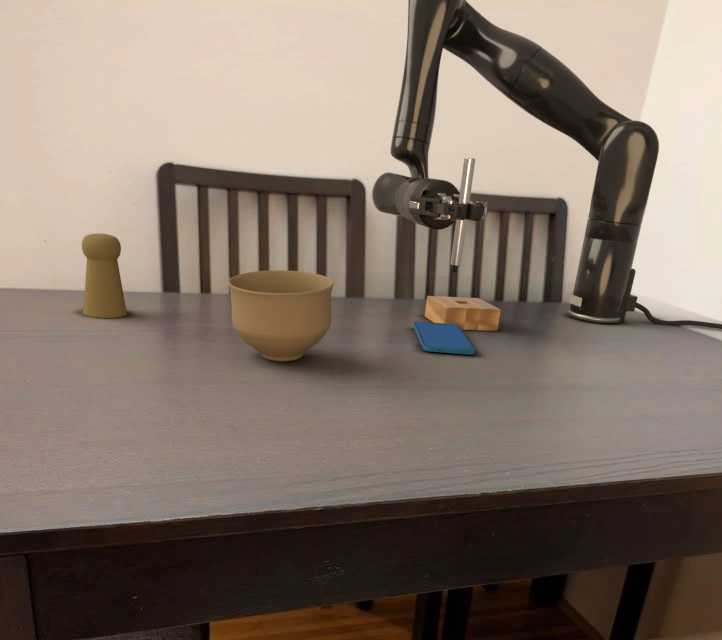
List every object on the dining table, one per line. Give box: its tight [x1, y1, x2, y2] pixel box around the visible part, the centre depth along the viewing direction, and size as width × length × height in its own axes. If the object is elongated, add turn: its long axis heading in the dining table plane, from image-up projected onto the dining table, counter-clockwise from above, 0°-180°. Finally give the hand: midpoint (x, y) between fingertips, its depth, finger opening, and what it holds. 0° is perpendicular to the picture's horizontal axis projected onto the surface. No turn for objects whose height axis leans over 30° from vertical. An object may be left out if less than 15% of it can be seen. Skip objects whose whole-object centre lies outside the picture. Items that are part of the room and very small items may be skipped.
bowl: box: [227, 269, 334, 363], centre depth 89 cm, size 13×13×10 cm
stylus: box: [450, 157, 476, 273], centre depth 108 cm, size 2×2×16 cm
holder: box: [424, 295, 502, 332], centre depth 121 cm, size 9×9×4 cm
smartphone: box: [412, 321, 476, 355], centre depth 108 cm, size 7×1×15 cm
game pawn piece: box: [81, 232, 128, 319], centre depth 104 cm, size 6×6×11 cm
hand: (470, 212), depth 105 cm, fingers closed on stylus, 1 cm apart
